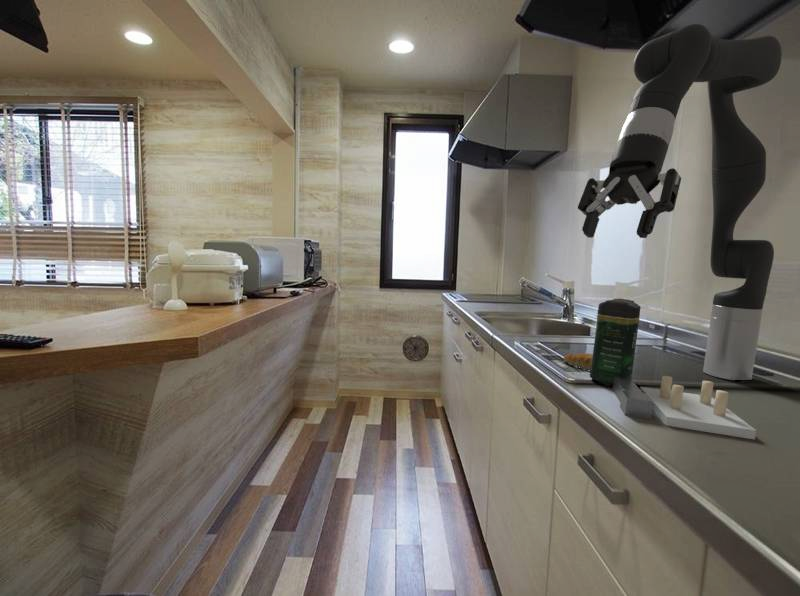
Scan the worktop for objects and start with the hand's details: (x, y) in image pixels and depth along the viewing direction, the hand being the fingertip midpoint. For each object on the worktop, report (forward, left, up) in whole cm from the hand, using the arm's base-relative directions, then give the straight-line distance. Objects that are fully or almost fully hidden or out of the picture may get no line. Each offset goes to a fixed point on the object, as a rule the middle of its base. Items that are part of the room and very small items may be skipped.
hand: (612, 236), depth 63 cm
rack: (-9, +17, -30) cm, 36 cm away
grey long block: (-10, +8, -31) cm, 33 cm away
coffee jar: (-24, +7, -31) cm, 40 cm away
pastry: (-34, +3, -31) cm, 46 cm away
